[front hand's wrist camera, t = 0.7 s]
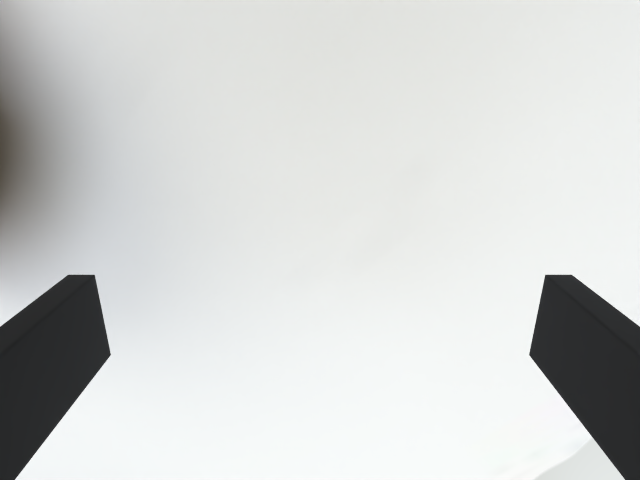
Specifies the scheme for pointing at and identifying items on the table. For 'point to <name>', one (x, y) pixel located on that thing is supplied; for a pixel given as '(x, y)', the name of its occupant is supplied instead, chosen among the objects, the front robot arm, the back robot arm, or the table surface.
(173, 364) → the table surface
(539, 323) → the front robot arm
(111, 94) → the table surface
